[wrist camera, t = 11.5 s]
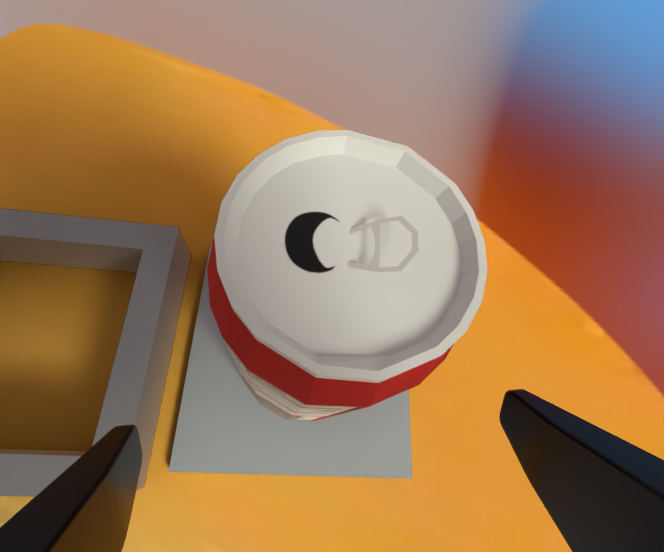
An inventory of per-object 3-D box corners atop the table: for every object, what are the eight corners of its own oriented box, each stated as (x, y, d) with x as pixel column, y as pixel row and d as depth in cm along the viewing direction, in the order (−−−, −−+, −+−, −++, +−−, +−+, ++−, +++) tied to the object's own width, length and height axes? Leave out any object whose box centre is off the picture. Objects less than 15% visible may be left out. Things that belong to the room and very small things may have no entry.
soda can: (365, 307, 19) (497, 133, 8) (360, 426, 17) (532, 414, 6) (252, 294, 18) (224, 85, 7) (232, 415, 16) (149, 379, 5)
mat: (408, 477, 17) (412, 478, 16) (171, 470, 15) (168, 471, 15) (401, 268, 20) (403, 265, 20) (211, 249, 19) (209, 245, 19)
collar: (144, 486, 15) (118, 498, 12) (-151, 480, 14) (-248, 490, 11) (191, 254, 19) (178, 227, 16) (-35, 233, 18) (-87, 199, 15)
